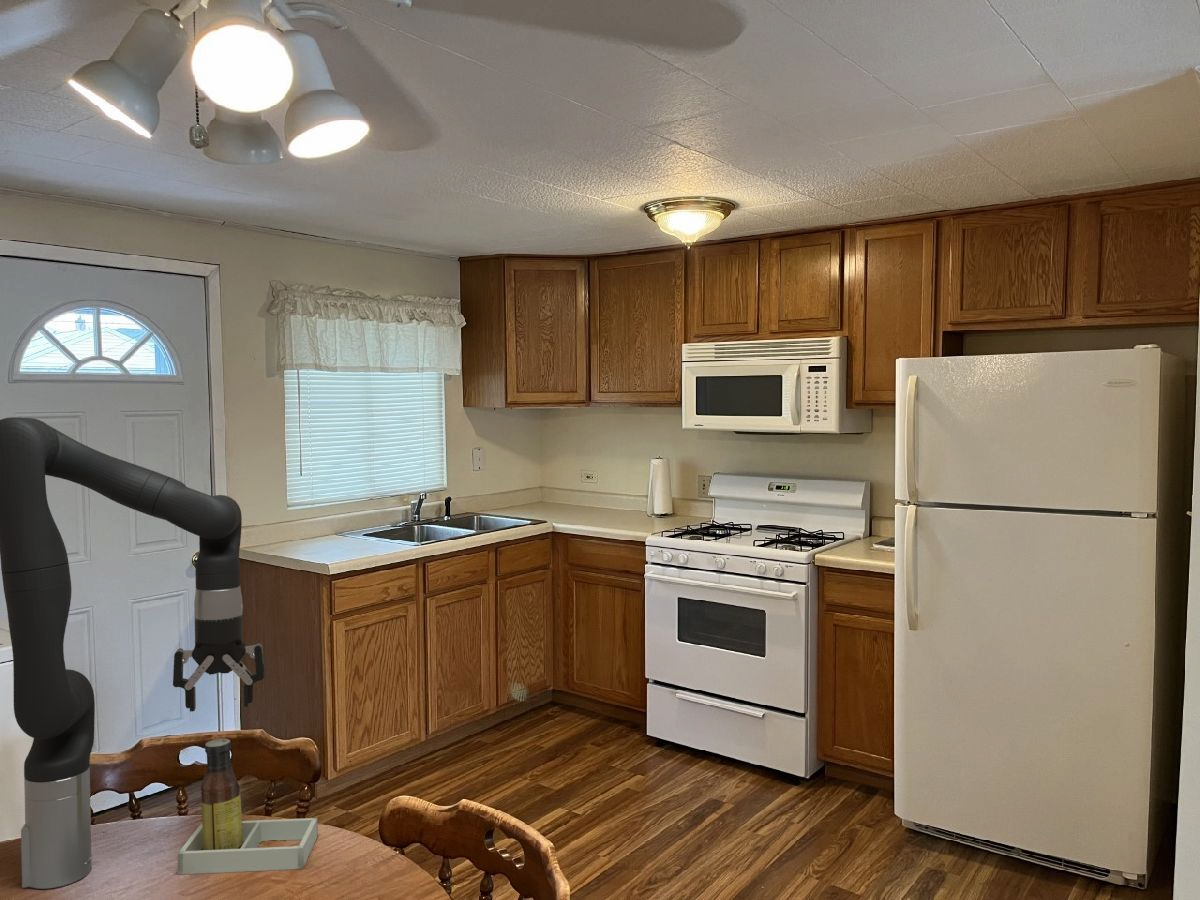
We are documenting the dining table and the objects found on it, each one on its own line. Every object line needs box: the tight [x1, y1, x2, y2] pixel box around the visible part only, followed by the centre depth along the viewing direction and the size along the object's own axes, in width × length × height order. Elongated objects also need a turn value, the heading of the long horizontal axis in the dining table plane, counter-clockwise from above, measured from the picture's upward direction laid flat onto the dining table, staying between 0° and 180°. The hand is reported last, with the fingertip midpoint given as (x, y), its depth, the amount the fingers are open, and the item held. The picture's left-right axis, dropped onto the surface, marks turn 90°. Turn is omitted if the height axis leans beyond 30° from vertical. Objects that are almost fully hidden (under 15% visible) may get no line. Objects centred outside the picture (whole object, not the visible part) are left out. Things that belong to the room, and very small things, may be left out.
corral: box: [177, 817, 319, 876], centre depth 156 cm, size 20×12×4 cm, turn 96°
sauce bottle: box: [200, 738, 244, 850], centre depth 155 cm, size 7×6×20 cm
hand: (220, 707), depth 154 cm, fingers open, 8 cm apart
